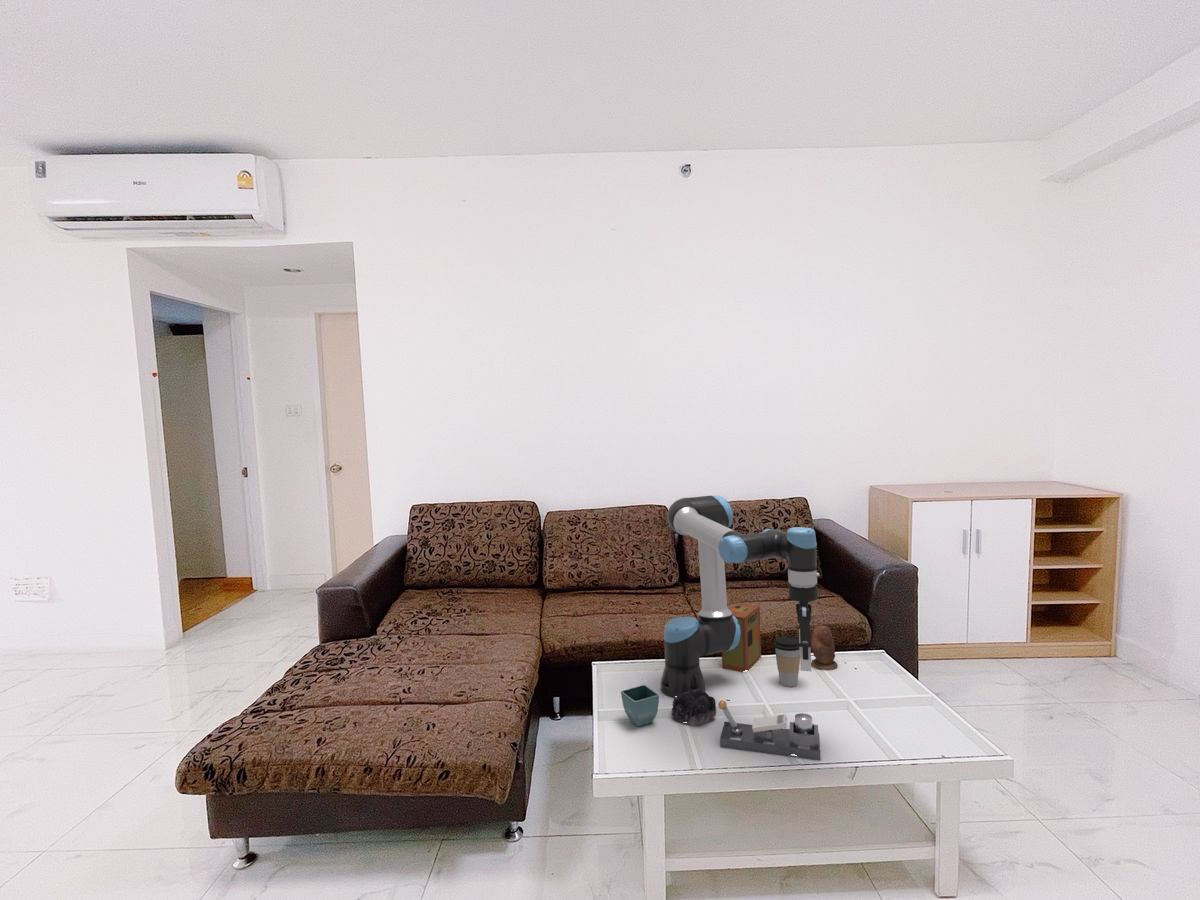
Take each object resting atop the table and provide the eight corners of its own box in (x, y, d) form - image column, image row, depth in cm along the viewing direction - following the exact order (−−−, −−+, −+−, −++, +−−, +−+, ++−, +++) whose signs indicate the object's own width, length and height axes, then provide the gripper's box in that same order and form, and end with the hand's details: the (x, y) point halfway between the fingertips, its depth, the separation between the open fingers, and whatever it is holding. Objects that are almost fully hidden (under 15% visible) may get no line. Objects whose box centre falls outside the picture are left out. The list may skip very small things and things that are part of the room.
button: (795, 734, 162) (794, 719, 162) (795, 726, 167) (795, 712, 166) (812, 736, 161) (812, 721, 161) (812, 728, 165) (811, 714, 165)
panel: (720, 746, 166) (719, 727, 166) (724, 729, 176) (724, 711, 176) (820, 760, 158) (819, 740, 158) (819, 741, 167) (818, 722, 167)
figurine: (810, 671, 217) (806, 629, 217) (811, 661, 226) (806, 621, 227) (837, 671, 213) (833, 629, 214) (837, 662, 223) (832, 621, 223)
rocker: (753, 732, 165) (751, 727, 165) (754, 722, 171) (753, 718, 171) (786, 727, 163) (784, 723, 163) (786, 718, 168) (785, 713, 168)
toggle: (730, 729, 169) (715, 704, 170) (731, 725, 171) (717, 700, 172) (738, 726, 168) (723, 701, 169) (738, 722, 171) (724, 697, 172)
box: (746, 673, 216) (744, 617, 215) (722, 668, 221) (720, 614, 220) (761, 657, 230) (759, 605, 229) (738, 653, 235) (736, 602, 234)
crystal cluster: (670, 709, 192) (666, 679, 191) (712, 704, 191) (709, 674, 190) (674, 733, 178) (671, 701, 177) (720, 728, 178) (716, 696, 177)
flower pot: (635, 731, 176) (634, 701, 176) (621, 719, 184) (620, 690, 184) (660, 724, 180) (660, 694, 180) (645, 712, 188) (644, 684, 188)
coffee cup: (799, 677, 210) (798, 635, 210) (806, 689, 201) (804, 645, 200) (771, 677, 211) (770, 635, 211) (777, 689, 202) (775, 645, 201)
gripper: (819, 597, 152) (822, 680, 152) (815, 574, 176) (817, 646, 176) (788, 595, 154) (791, 677, 155) (788, 573, 178) (790, 644, 178)
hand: (805, 661), depth 165 cm, fingers open, 13 cm apart
